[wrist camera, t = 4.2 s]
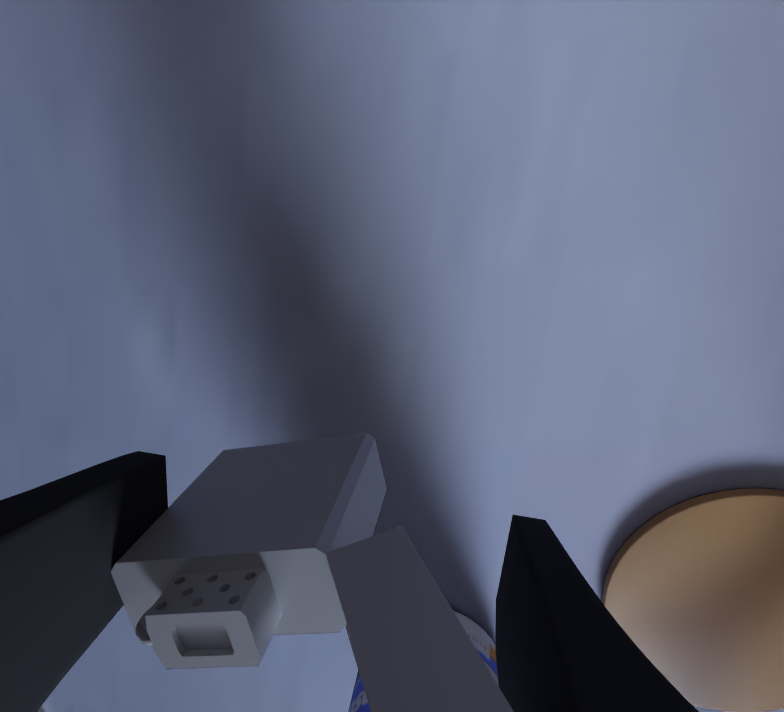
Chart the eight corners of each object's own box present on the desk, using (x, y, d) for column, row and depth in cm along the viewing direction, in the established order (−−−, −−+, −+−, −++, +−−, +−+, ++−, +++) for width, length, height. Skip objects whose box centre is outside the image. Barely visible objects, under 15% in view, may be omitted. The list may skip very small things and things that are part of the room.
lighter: (236, 510, 14) (-43, 885, 7) (216, 451, 14) (-107, 783, 6) (509, 484, 13) (554, 926, 5) (499, 416, 12) (531, 796, 5)
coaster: (939, 514, 16) (950, 521, 16) (833, 725, 19) (840, 736, 19) (635, 467, 17) (638, 473, 17) (578, 674, 20) (579, 684, 20)
